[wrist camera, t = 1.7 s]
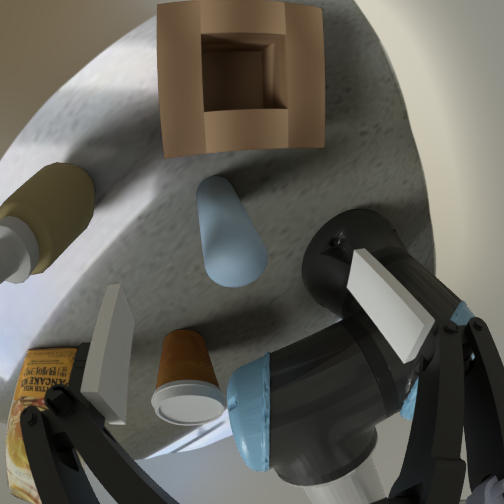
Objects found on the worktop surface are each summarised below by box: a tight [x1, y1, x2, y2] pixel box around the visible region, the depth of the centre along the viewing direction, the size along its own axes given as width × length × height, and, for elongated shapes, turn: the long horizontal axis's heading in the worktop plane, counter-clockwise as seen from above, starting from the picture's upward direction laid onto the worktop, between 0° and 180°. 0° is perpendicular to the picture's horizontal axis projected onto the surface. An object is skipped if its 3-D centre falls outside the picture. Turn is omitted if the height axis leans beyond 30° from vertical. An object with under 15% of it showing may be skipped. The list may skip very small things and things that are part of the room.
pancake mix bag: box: [5, 347, 85, 504], centre depth 24 cm, size 7×19×28 cm, turn 94°
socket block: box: [157, 0, 325, 159], centre depth 20 cm, size 12×12×9 cm
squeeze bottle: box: [0, 162, 95, 284], centre depth 17 cm, size 8×8×18 cm
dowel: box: [197, 176, 268, 287], centre depth 23 cm, size 4×4×14 cm
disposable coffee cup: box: [151, 329, 226, 425], centre depth 34 cm, size 10×10×12 cm
